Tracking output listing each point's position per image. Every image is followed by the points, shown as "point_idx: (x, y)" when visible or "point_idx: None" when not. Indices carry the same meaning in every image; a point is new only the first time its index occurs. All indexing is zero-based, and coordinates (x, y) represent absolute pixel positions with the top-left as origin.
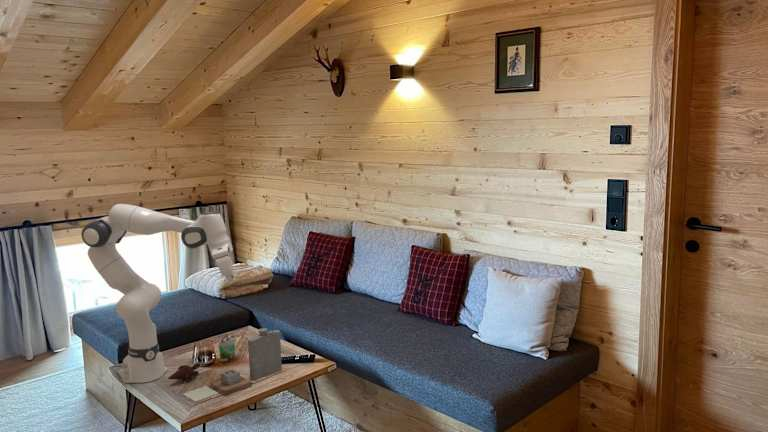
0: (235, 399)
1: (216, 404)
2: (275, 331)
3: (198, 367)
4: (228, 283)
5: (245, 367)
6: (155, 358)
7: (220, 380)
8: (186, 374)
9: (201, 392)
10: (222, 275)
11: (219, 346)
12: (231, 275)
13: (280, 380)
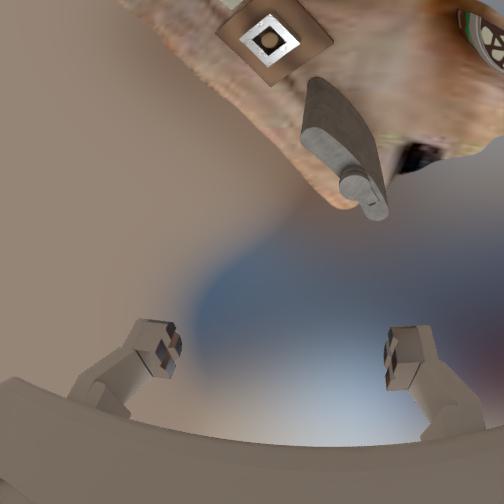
0: (199, 57)
1: (174, 22)
2: (375, 210)
3: None
4: (135, 323)
5: (404, 67)
6: None
7: (288, 7)
8: None
9: None
10: (9, 378)
11: (471, 15)
12: (389, 381)
13: (297, 144)
